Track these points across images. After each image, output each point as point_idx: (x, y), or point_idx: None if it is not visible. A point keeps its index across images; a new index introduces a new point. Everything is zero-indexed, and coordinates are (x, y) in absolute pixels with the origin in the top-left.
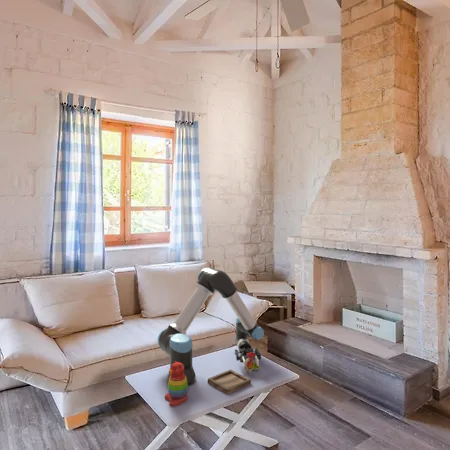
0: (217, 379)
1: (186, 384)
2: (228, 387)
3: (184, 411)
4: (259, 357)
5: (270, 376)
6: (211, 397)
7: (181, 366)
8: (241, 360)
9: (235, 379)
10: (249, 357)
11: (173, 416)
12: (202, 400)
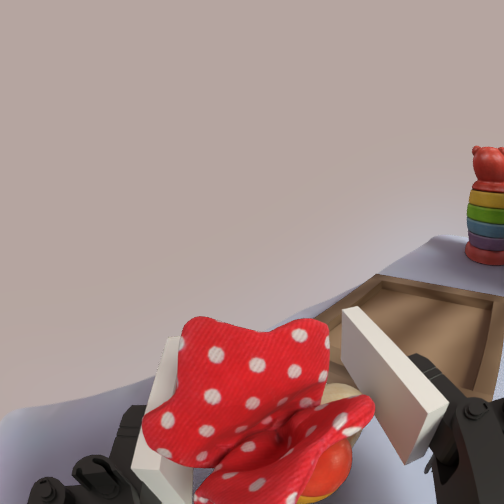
0: (478, 323)
1: (469, 208)
2: (390, 298)
3: (438, 244)
4: (87, 494)
5: None
6: (420, 275)
7: (472, 150)
8: (412, 359)
9: None
10: (294, 411)
11: (444, 237)
12: (434, 264)
